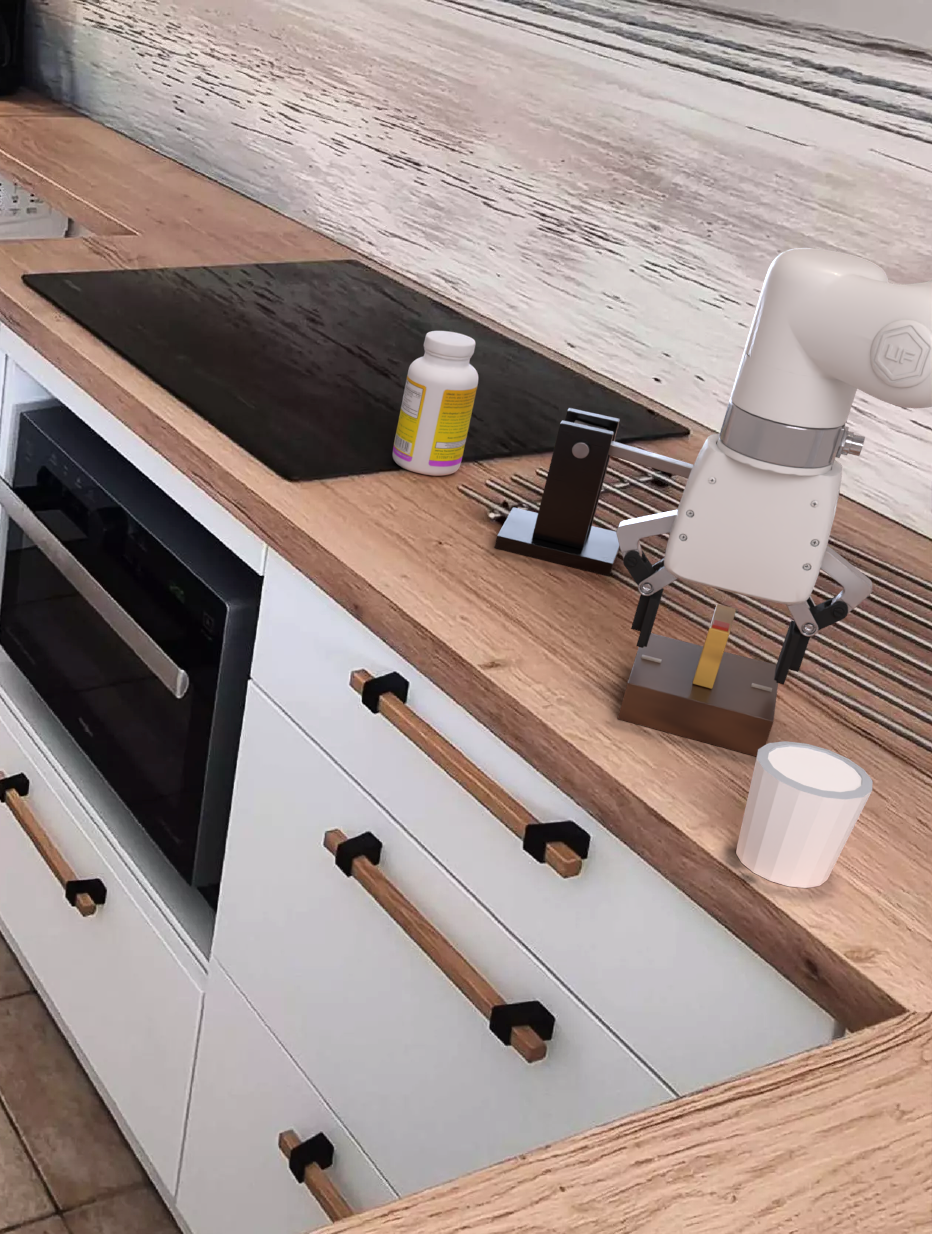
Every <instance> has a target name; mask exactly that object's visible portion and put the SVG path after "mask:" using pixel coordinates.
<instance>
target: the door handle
mask: <svg viewBox="0 0 932 1234" xmlns="http://www.w3.org/2000/svg"><path fill="white" fill-rule="evenodd" d="M574 423H577V424H581V425H586V426H590V427H595V428H599V429H604V430H607V429H605V428H601V427H598V426H595V425H591V424H588V423H584V422H581V421H577V420H575V422H574ZM608 455H610V457H614V458H617V459H620V460H623V461H628V462H629V463H634V464H638V465H641V466H644V467H648V468H650V469H655V470H658V471H661V472H665V473H667V474H671V475H674V476H678V477H682V478H685V479H688V478H689V475H690V473H691V470H692V468H693V465H694V463H689V462H687V461H683V460H679V459H675V458H672V457H668V456H666V455H662V454H658V453H655V452H651V451H649V450H645V449H641V448H639V447H636V446H635V447H634V446H631V445H627V444H624V443H621V442H618V441H612V442H611V446H610V450H609V454H608Z"/></svg>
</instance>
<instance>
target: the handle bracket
mask: <svg viewBox="0 0 932 1234" xmlns="http://www.w3.org/2000/svg"><path fill="white" fill-rule="evenodd" d="M575 420H577V421H581V422H584V423H588V424H591V425H595V426H598V427H601V428H605V429H607V430H604V429H599V428H595V427H590V426H586V425H581V424H577V423H574V422H575ZM620 420H621V419H620V418H617V417H613V416H607V415H604V414H599V413H594V412H590V411H585V410H581V409H576V408H572V407H568V409H567V410H566V415H565V419H564V420H561V421H560V423H559V427H558V432H557V434H556V435H557V436H556V439H555V444H554V446H553V451H552V455H551V460H550V463H549V467H548V471H547V476H546V479H545V483H544V487H543V491H542V495H541V500H540V504H539V508H538V512H534V511H531V510H527V509H522V508H518V507H512V508H511V510H510V512H509V514H508V515H507V517H506V519H505V521H504V523H503V525H502V526H501V528H500V530H499V531H498V533H497V535H496V538H495V542H494V549H497V550H500V551H505V552H509V553H513V554H516V555H521V556H525V557H528V558H534V559H538V560H542V561H546V562H550V563H554V564H558V565H562V566H567V567H570V568H573V569H578V570H582V571H587V572H591V573H595V574H599V575H602V576H607V577H611V573H612V571H613V568H614V566H615V563H616V562H617V561H616V560H617V558H618V555H619V552H620V551H621V550H620V546H619V542H618V538H617V534H616V531H615V530H611V529H606V528H602V527H597V526H594V525H593V523H594V520H595V516H596V513H597V509H598V505H599V501H600V497H601V495H602V494H601V493H602V489H603V486H604V482H605V478H606V475H607V470H608V466H609V464H610V459H611V456H610V455H608V454H609V450H610V446H611V442H612V441H614V442H616V436H617V433H618V429H619V425H620Z"/></svg>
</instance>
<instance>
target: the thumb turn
mask: <svg viewBox="0 0 932 1234" xmlns="http://www.w3.org/2000/svg"><path fill="white" fill-rule="evenodd" d="M736 611H737V608H735V607H731V606H727V605H723V604H720V603H717V604H715V607H714V610H713V614H712V616H711V617H712V618H711V621H710V624H709V628H708V629H707V630H708V631H707V633H706V636H705V641H704V643H703V645H702V646H703V650H702V653H701V656H700V659H699V663H698V666H697V669H696V673H695V676H694V679H693V684H696V685H699V686H703V687H707V688H710V689H712V688H713V685H714V682H715V679H716V675H717V672H718V669H719V666H720V663H721V659H722V656H723V653H724V652H725V649H726V647H727V643H728V640H729V638H730V637H729V636H730V634H731V630H732V627H733V623H734V619H735V615H736Z"/></svg>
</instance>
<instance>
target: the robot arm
mask: <svg viewBox="0 0 932 1234" xmlns="http://www.w3.org/2000/svg"><path fill="white" fill-rule="evenodd" d="M758 298H759V299H758V302H757V304H756V309H755V312H754V315H753V318H752V322H751V324H750V325H751V326H750V329H749V332H748V336H747V340H746V342H745V346H744V350H743V353H742V356H741V358H740V359H741V360H740V362H739V366H738V370H737V373H736V376H735V379H734V384H733V387H732V389H731V393H730V398H729V401H728V406H727V408H726V412H725V415H724V418H723V422H722V425H721V428H720V431H719V433H714V434H710V435H708V436H707V438H706V439H705V441H704V443H703V445H702V447H701V448H700V450H699V452H698V454H697V457H696V458H695V460H694V463H693V468H692V470H691V473H690V475H689V478H687V480H686V483H685V487H684V489H683V491H682V495H681V498H680V501H679V504H678V506H677V509H674V510H669V511H664V512H659V513H654V514H649V515H643V516H639V517H634V518H629V519H625V520H622V521H620V522H619V524H618V525H617V527H616V531H615V532H616V534H617V538H618V542H619V546H620V550H619V551H620V552H621V555H622V559H623V560H622V563H623V565H624V567H625V569H626V570H627V572H628V573H629V575H630V577H631V578H632V579H633V581H634V582H635V584H636V585H637V590H638V592H639V593H640V595H639V599H638V603H637V606H636V610H635V613H634V616H633V619H632V623H631V628H630V629H631V630H632V631H633V630H634V631H638V632H639V635H638V638H637V642H636V645H635V646H636V647H637V648H639V647H641V648H643V647H644V646H645V647H647V644H648V641H649V638H650V635H651V633H652V632H653V628H654V625H655V621H656V617H657V615H658V614H657V613H658V611H659V607H660V604H661V601H662V597H663V592H664V590H665V587H667V586H668V585H670V584H672V583H674V582H675V581H676V580H678V579H679V580H682V581H685V582H688V583H689V582H690V583H693V584H695V585H700V586H703V587H709V588H712V589H717V590H721V591H724V592H729V593H732V594H736V595H741V596H745V597H749V598H753V599H756V600H762V601H765V602H770V603H774V604H778V605H779V604H780V605H785V606H786V607H787V609H788V611H789V613H790V615H791V617H792V619H793V620H790V622H789V624H788V628H787V631H786V634H785V637H784V640H783V643H782V646H781V649H780V653H779V656H778V659H777V661H776V664H775V665H776V669H775V676H774V680H775V681H776V683H778V684H780V685H783V686H784V685H785V683H786V679H787V677H788V674H789V671H793V672H796V673H799V672H800V669H801V665H802V663H803V660H804V657H805V654H806V651H807V649H808V645H809V642H810V639H811V637H813V636H815V635H817V633H818V632H819V631H820V630H823V629H825V628H828V627H829V626H831V625H834V624H836V623H838V622H840V621H842V620H844V619H846V618H847V616H848V615H849V613H850V612H851V611H853V610H855V609H856V608H857V607H858V606H859V605H860V604H861V603H862V602H864V601H865V600H866V599H867V598H869V596H870V595H871V594H872V592H873V582H872V580H871V579H870V578H869V577H868V576H866V575H865V574H864V573H863V572H861V571H860V570H859V569H858V568H857V567H856V566H854V565H853V564H852V563H850V562H849V561H848V560H847V559H846V558H844V557H843V556H842V555H840V553H838V552H837V551H835V550H834V549H833V548H832V547H830V546H829V545H828V543H829V539H830V537H831V532H832V528H833V524H834V520H835V516H836V513H837V506H838V501H839V497H840V493H841V486H842V477H843V465H842V463H840V462H839V461H838V460H836V458H838V459H840V458H841V455H844V456H848V455H853V456H857V457H859V456H860V455H861V453H862V450H863V447H864V444H865V440H866V436H864V435H859V434H855V432H854V431H850V430H849V428H850V427H849V426H846V423H847V422H848V418H849V415H850V412H851V409H852V406H853V403H854V400H855V397H856V394H857V391H858V390H859V391H860V392H863V393H865V394H867V395H869V396H871V397H873V398H875V399H877V400H880V401H881V402H883V403H887V404H889V405H893V406H897V407H899V408H900V407H901V408H906V409H925V408H932V279H930V280H927V281H924V282H915V283H914V282H913V283H904V284H903V283H902V284H900V283H893V282H889V277H888V274H887V273H886V271H885V270H884V269H883V267H881V266H879V265H878V264H876V263H875V262H873V261H872V260H869V259H866V258H865V257H861V256H857V255H855V254H850V253H846V252H842V251H838V250H831V249H824V248H815V247H814V248H813V247H800V248H798V247H797V248H791V249H787V250H785V251H783V252H781V253H779V254H778V255H777V256H776V257H775V258H774V259H773V260H772V262H771V263H770V265H769V267H768V269H767V272H766V275H765V278H764V281H763V284H762V288H761V291H760V294H759V297H758ZM664 534H669V535H668V540H667V543H666V548H665V553H664V557H662V559H659V560H658V561H656V562H655V563H651V561H650V560H649V558H648V557H647V555H646V554H645V552H644V550H643V549H642V546H641V541H640V540H641V539H644V538H649V537H654V536H660V535H664ZM821 570H822V571H823V572H824V573H825V574H826V575H828V576H829V577H831V578H832V579H833V580H834V581H835V582H837V583H838V584H839V585H840V586H841V587H842V588H843V589H842V590H841V591H840V592H839V593H838V594H837V595H836V596H834V597H833V596H832V597H831V598H829V599H826V600H824V601H822V602H821V603H819V604H816V603H815V601H814V599H813V597H812V593H813V590H814V588H815V585H816V583H817V580H818V578H819V575H820V571H821Z"/></svg>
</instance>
